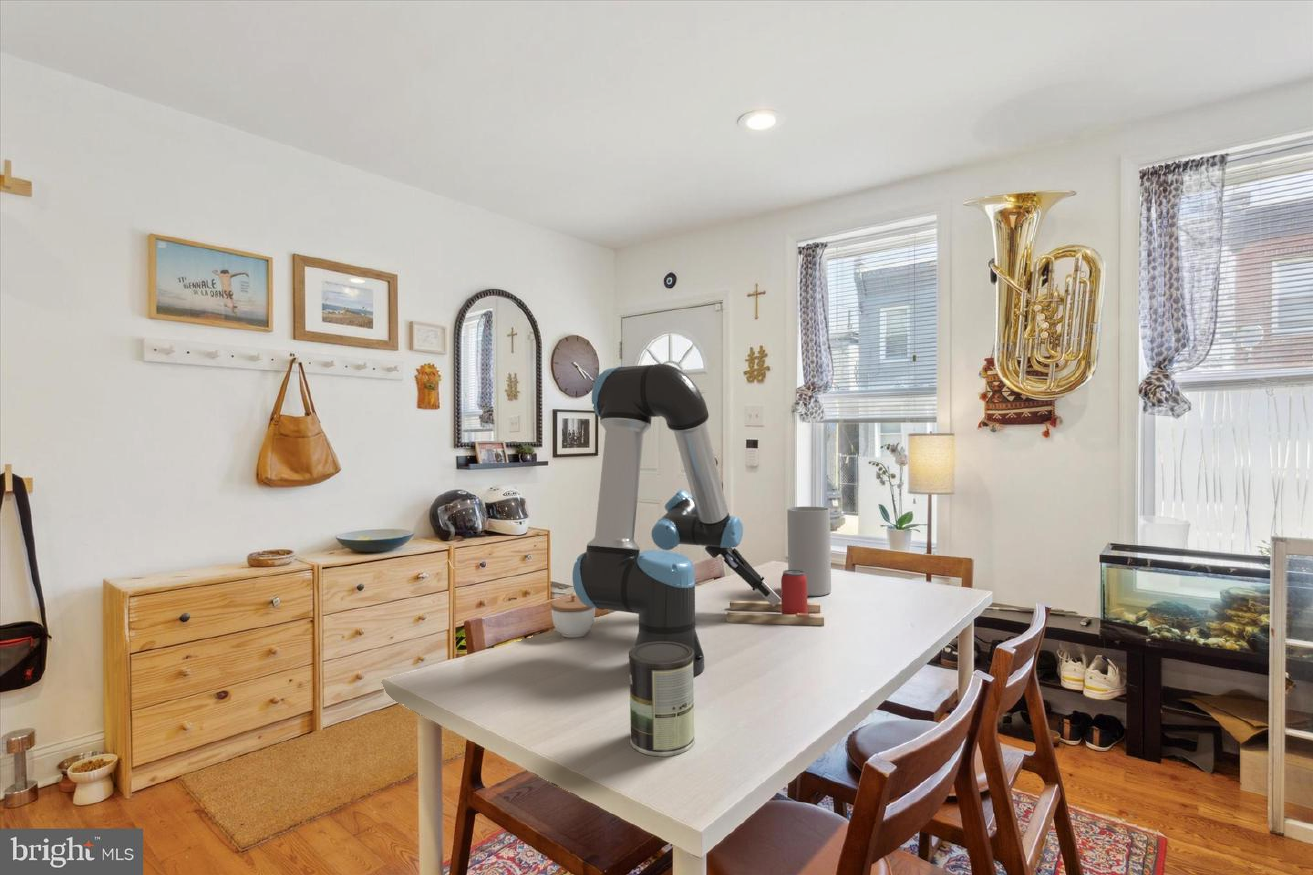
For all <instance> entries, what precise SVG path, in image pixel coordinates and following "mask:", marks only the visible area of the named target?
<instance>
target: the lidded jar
mask: <svg viewBox="0 0 1313 875" xmlns="http://www.w3.org/2000/svg"><path fill="white" fill-rule="evenodd" d="M570 597H571V598H570ZM550 608H551V619H552V624H553V626H554V628H555V629H556V631H557V632H559V633H560V635H561V636H562V637H564V638H580V637H583V636H585V635H587V632H588V631H589V630H590V629H591V628H592V626H593V624H594V621H595V614H596V608H595V607H590V606H587V605H585V604H583V603H582V602H581V601H580V600H579V598H578V596H576V594H571V595H570V596H566V597H560V598H557V599H555V600H553V601H551V603H550Z"/></svg>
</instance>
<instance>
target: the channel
mask: <svg viewBox="0 0 1313 875" xmlns="http://www.w3.org/2000/svg"><path fill="white" fill-rule="evenodd" d="M729 610H730V611H731V612H729V611H728V612H727V613H726V622H727V623H733V624H735V623H736V624H738V623H739V624H766V625H767V624H769V625H793V626H794V625H796V626H798V625H799V626H823V627H824V626H825V616H824V615H823V614H822V615H821V614H820V613H821V603H819V602H807V613H797V614H782V603H781V601H780V602H779V603H778V604H777V605H775V606H774V607H773V606H772V605H771V604H770V603H769V602H768V601H756V600H755V601H754V600H753V601H752V600H748V601H747V600H742V601H741V600H729ZM732 611H734V612H732ZM735 611H751V612H735ZM753 611H755V612H753ZM756 611H759V612H761V613H758V612H757V613H756ZM762 612H764V613H762ZM765 612H781V613H765ZM810 613H814V614H810ZM815 613H817V614H815ZM818 613H819V614H818Z"/></svg>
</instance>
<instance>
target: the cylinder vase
mask: <svg viewBox="0 0 1313 875" xmlns="http://www.w3.org/2000/svg"><path fill="white" fill-rule="evenodd" d="M786 511H787V512H786V514H787V516H786V517H787V518H786V519H787V570H801V571H804V572H805V576H806V579H807V597H822V596H823V597H824V596H826V595H829V594H830V593H831V591H832V565H831V564H832V562H831V556H832V555H831V554H832V553H831V508H828V507H824V506H792V507H787V509H786Z"/></svg>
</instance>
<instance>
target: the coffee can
mask: <svg viewBox="0 0 1313 875" xmlns="http://www.w3.org/2000/svg"><path fill="white" fill-rule="evenodd" d="M634 646H635V645H634ZM634 646H633V647H631V648H630V649H629V651H628V661H629V663H628V664H629V707H630V708H629V709H630V710H629V711H630V713H629V715H630V719H629V720H630V724H629V725H630V738H629V739H630V740H629V741H630V745H631V747H632V748H633V749H634V750H636V751H637V752H639V753H640V754H644V755H646V756H652V757H671V756H676V755H681V754H683V753H685V752H687V751H689V750H690V749H691V748H692V747H693V746H694V744H695V743H696V742H695V741H696V738H695V705H694V704H695V701H694V700H695V698H694V696H695V695H694V693H695V692H694V691H695V690H694V686H695V685H694V677H693V658H694V651H693V649H692V648H691V647H689V646H687V645H685V644H682V643H677V642H670V641H655V642H647V643H643V644H640V645H637V646H635V647H634Z"/></svg>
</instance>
